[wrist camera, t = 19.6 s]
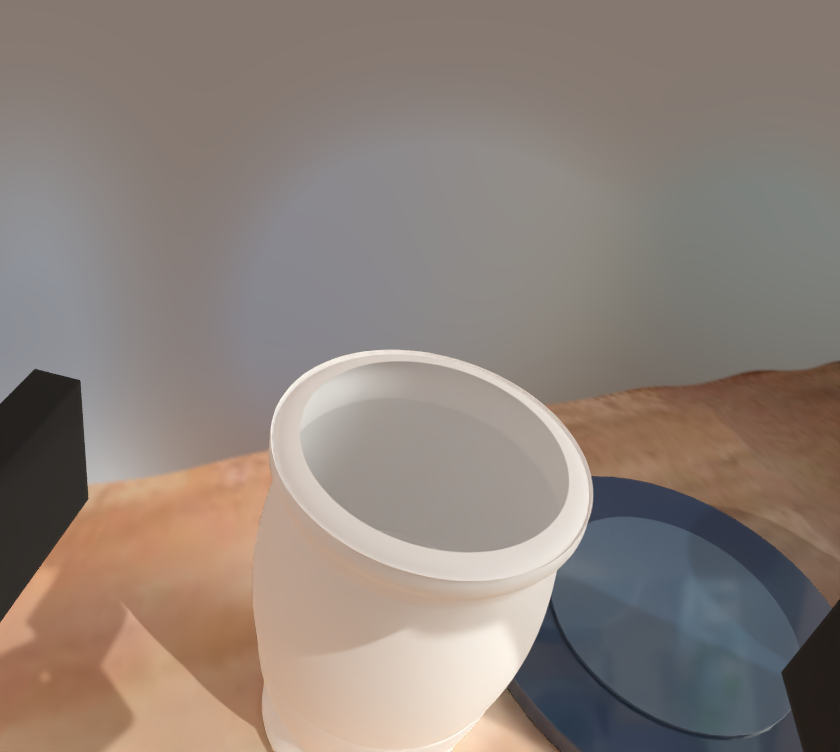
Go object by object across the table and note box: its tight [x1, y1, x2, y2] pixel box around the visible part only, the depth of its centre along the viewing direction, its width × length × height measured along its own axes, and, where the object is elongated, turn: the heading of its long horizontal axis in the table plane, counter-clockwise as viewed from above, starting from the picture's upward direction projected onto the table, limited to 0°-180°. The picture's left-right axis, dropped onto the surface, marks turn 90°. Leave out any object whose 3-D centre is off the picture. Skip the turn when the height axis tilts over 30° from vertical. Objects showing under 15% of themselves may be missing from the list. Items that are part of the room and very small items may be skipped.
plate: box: [507, 476, 832, 752], centre depth 40 cm, size 20×20×1 cm
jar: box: [252, 350, 593, 752], centre depth 29 cm, size 11×10×15 cm
